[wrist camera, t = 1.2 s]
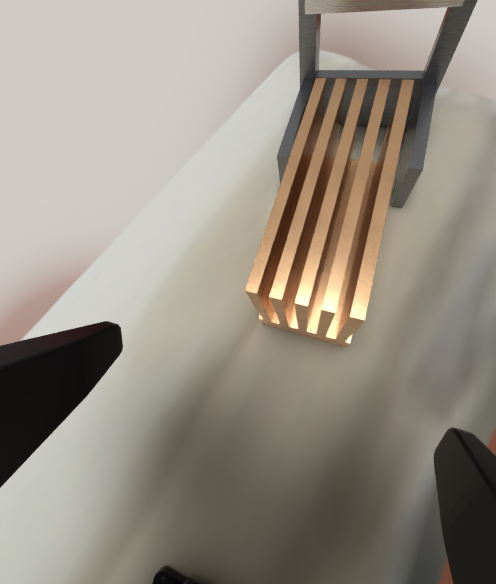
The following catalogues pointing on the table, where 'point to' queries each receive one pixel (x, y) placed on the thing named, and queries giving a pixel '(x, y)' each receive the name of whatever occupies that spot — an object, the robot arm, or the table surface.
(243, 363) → the table surface
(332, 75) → the grey open frame
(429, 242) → the table surface
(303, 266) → the heat-sink block
